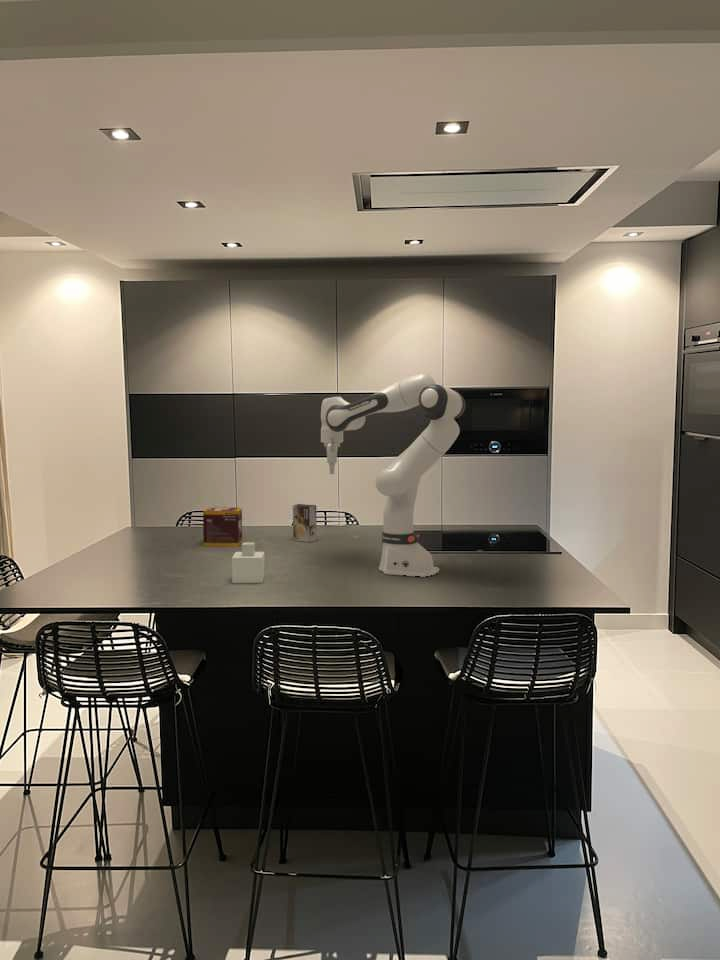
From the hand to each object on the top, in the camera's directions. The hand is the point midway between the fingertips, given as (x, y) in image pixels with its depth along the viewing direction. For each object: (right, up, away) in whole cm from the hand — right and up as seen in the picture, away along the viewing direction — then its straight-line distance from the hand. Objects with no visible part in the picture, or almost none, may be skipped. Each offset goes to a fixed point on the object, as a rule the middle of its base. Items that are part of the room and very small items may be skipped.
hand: (332, 473), depth 293 cm
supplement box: (-49, -31, +31) cm, 66 cm away
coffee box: (-14, -30, +40) cm, 52 cm away
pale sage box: (-28, -38, -32) cm, 57 cm away
